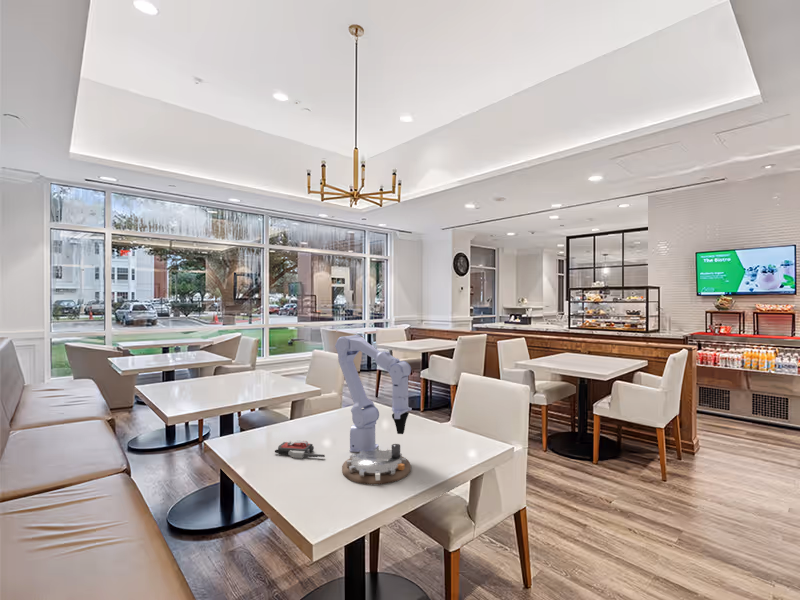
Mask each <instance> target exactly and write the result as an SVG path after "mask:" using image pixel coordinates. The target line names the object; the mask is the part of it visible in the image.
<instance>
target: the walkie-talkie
mask: <svg viewBox="0 0 800 600" xmlns="http://www.w3.org/2000/svg"><path fill="white" fill-rule="evenodd" d="M314 449H315V447H314V445H313V443H309V442H308V441H307V440H296V441H295V442H292V441H291V440H289V441H288V442H287V441H283V442H282V443H281V444H280V445H278V447H277V449H275V450H274V453H275V454H278V455H279V454H284V455H283V456H290V458H292V457H293V458H295V459H302V458H303V459H304V458H308V457H309V458H318V457H319V458H325V454H319V453H313V452H314ZM285 454H286V455H285Z"/></svg>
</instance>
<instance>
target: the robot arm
mask: <svg viewBox="0 0 800 600" xmlns="http://www.w3.org/2000/svg"><path fill="white" fill-rule="evenodd" d="M334 348H335V351H336V353H337V359H338V364H339V368H340V369H341V372H342V375H343V377H344V380H345V383H346V385H347V388H348V391H349V393H350V396H351V399H352V402H353V404H352V407H351V409H350V411H351V415H352V416H351V417H352V423H353V424H352V425H351V427H350V431H349V452H351V453H352V452H353V453H360V451H363V450H364V451H365V452H367V451H373V449H378V447H379V444H378V443H376V425H377V421H378V420H379V418H380V411H379V409H378V408H377V407H376V405H375V404H374V401H373V400H371V399H369V398H368V396H367V394H366V390H365V388H364V386H363V383H362V380H361V378H360V376H359V372H358V370H357V367H356V365H355V362H354V360H355V358H356V356H357V355H358V353H360V352H361V353H363V354H365V355H367V356H368V357H370V358H372V359H374V360H375V364H376V365H377V366H379V367H380V368H382V369H383V370H385V371H386V372H387V373H388V375H389V377H390V380H391V383H392V384H391V387H392V394H391V395H392V408H391V411H392V414H391V418H392V420H393V421H394V425H395V428H396V434H398V435H404V433H405V429H406V425H407V424H406V422H407V419H408V417H409V414H410V413H409V412H411V411H412V407H409V376H410V375H411V372H412V367H411V364H410V363H408V361H406V360H402V361H401V360H400V358H398V357H395V356H393V355H392V354H391V352H390V351H386V350H384V351H380V350H378V349H377V348H375V346H373V345H372V344H370V343H369V342H368V341H367V340H365V338H364V337H362V336H361V335H359V334H354V335H345V336H339V337H338V338H337V340H336V342H335V345H334Z"/></svg>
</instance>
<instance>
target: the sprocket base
mask: <svg viewBox="0 0 800 600" xmlns="http://www.w3.org/2000/svg"><path fill="white" fill-rule="evenodd" d="M402 458H405V457H404V456H402ZM347 460H350V457H349V458H348V459H346V460H345V461H344V462H343V463H342V465H341V472H342V475H343V476H344V477H345V478H346V479H347V480H349V481H351V482H353V483H356V484H363V485H371V484H372V486H375V485H374V484H378V485H385V484H386V485H387V484H391V483H395V481H396V482H398V481H400V480H402V479H405V478H406V477H407V476H409V474H410V473H411V471H412V470H411V469H412V468H411V462H410V461H409V459H407V458H406V464H405V469H404V470H397V471H395V475H390V474H385V475H380V473H375V475H365V476H364V477H362V476H359V473H358V472H352V473H351V472H350V471H349V467H347Z"/></svg>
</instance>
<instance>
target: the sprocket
mask: <svg viewBox="0 0 800 600" xmlns="http://www.w3.org/2000/svg"><path fill="white" fill-rule="evenodd" d="M402 457H403V454H402V453H401V444H400V443H393V444H391V449H388V448H387V449H386V450H379V449H378V448H376V449H373V451H367V452H365V451H364V450H363V451H360V452H359V453H357V454H351V455H349V458H350V460H348V459H346V460H347V467H349V471H350V472H351V473H352V472H358V473H359V476H362V477H364V476H365V475H375V473H380V475H385V474H390V475H395V471H397V470H404V469H405V464H406V459H407V458H406V457H404V458H402Z"/></svg>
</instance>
